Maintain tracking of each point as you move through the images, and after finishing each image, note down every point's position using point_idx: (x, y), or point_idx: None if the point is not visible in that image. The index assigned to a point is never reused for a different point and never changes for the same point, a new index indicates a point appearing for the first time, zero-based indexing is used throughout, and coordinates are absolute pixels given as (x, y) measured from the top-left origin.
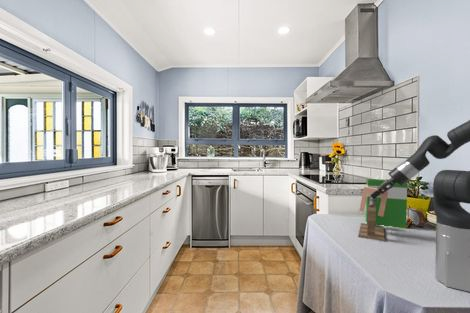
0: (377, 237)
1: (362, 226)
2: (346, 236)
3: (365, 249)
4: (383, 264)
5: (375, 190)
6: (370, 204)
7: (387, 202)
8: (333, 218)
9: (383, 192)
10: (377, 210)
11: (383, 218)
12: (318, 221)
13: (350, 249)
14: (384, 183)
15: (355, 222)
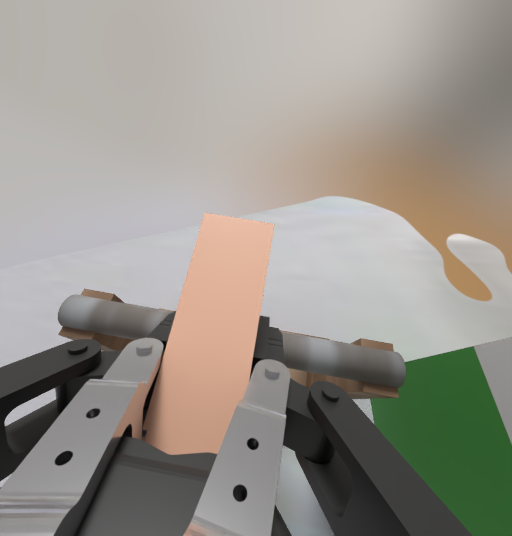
0: None
1: None
2: (157, 276)
3: (37, 316)
4: None
5: (176, 332)
6: (73, 300)
7: (505, 533)
8: (366, 253)
9: (43, 411)
10: (421, 425)
11: None
12: (295, 211)
13: (36, 275)
14: (21, 478)
15: (358, 325)
